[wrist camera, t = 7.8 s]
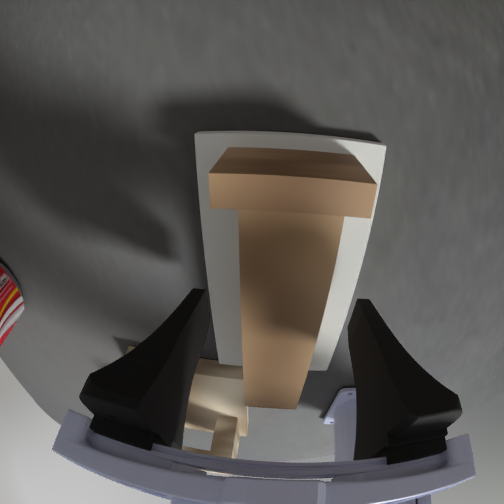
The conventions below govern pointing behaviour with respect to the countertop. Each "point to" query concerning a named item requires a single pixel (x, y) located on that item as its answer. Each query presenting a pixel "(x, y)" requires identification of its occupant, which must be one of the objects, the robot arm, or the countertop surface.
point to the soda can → (9, 302)
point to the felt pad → (227, 238)
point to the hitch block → (217, 407)
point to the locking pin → (286, 254)
